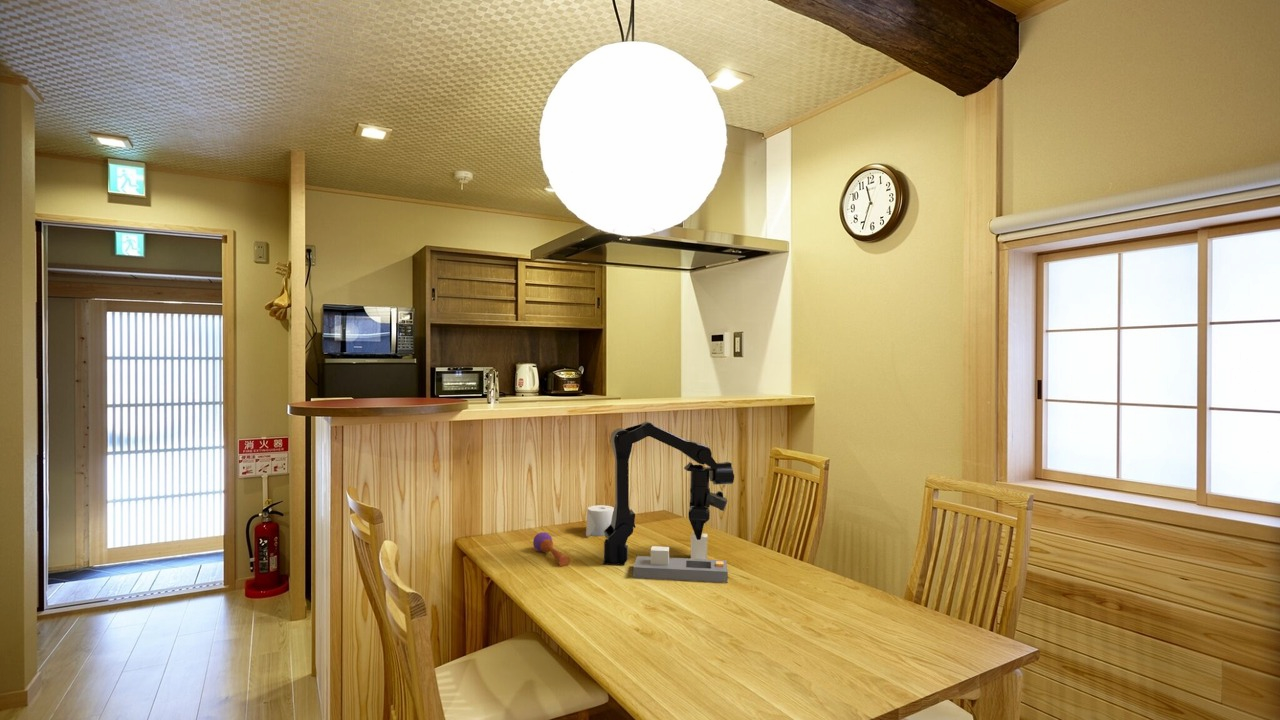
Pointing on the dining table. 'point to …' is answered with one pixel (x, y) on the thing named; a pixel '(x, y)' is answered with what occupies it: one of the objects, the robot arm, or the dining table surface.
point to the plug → (699, 547)
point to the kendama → (549, 548)
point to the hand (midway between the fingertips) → (698, 535)
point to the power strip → (679, 567)
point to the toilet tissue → (598, 519)
